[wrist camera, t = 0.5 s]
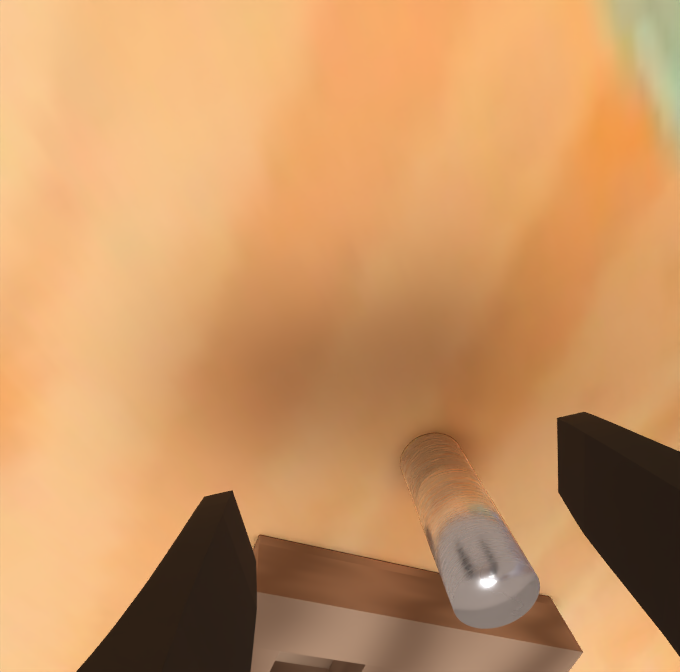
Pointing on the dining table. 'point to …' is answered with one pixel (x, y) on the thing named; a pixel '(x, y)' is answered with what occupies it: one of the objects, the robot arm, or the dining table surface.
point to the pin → (467, 535)
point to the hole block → (385, 620)
